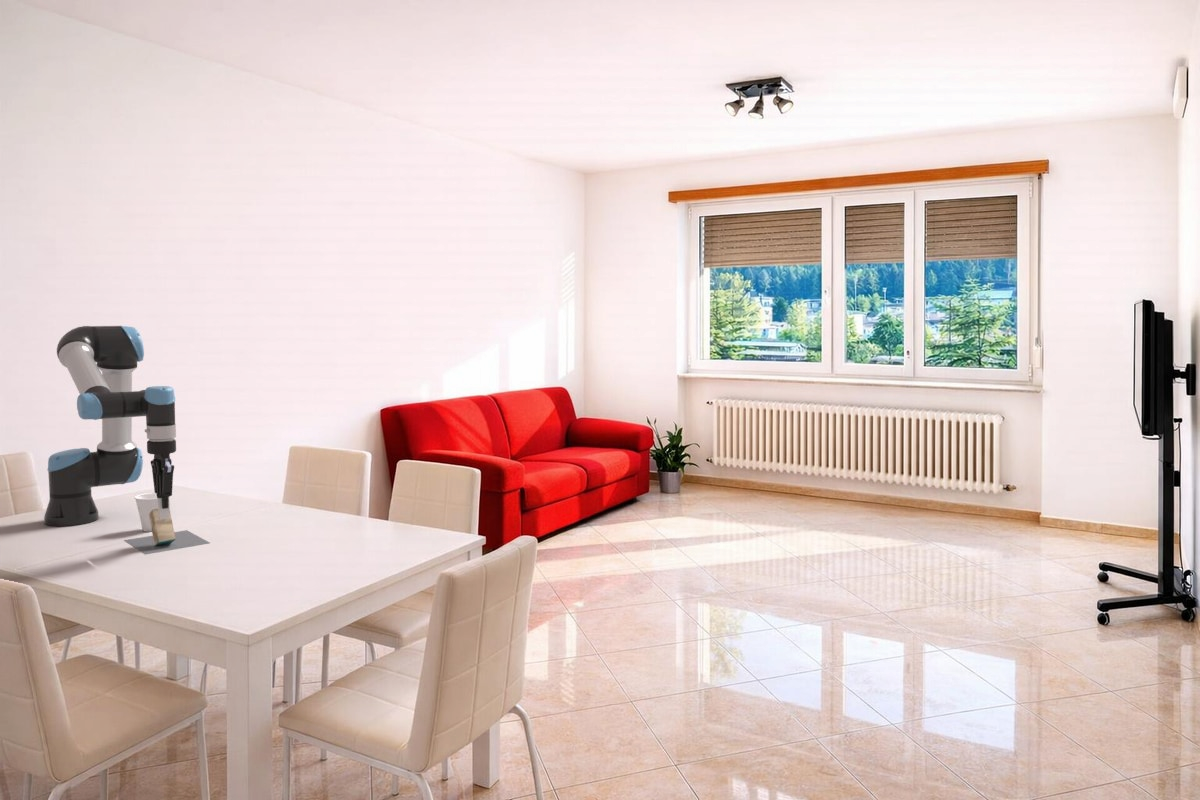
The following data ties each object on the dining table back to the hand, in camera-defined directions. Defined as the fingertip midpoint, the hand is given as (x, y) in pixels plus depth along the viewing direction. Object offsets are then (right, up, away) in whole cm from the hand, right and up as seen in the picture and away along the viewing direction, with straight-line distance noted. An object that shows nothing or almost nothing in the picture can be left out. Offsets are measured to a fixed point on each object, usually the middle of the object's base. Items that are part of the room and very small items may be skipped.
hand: (164, 518), depth 245 cm
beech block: (0, -7, +1) cm, 7 cm away
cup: (-14, -7, +20) cm, 25 cm away
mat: (-2, -8, +5) cm, 10 cm away
